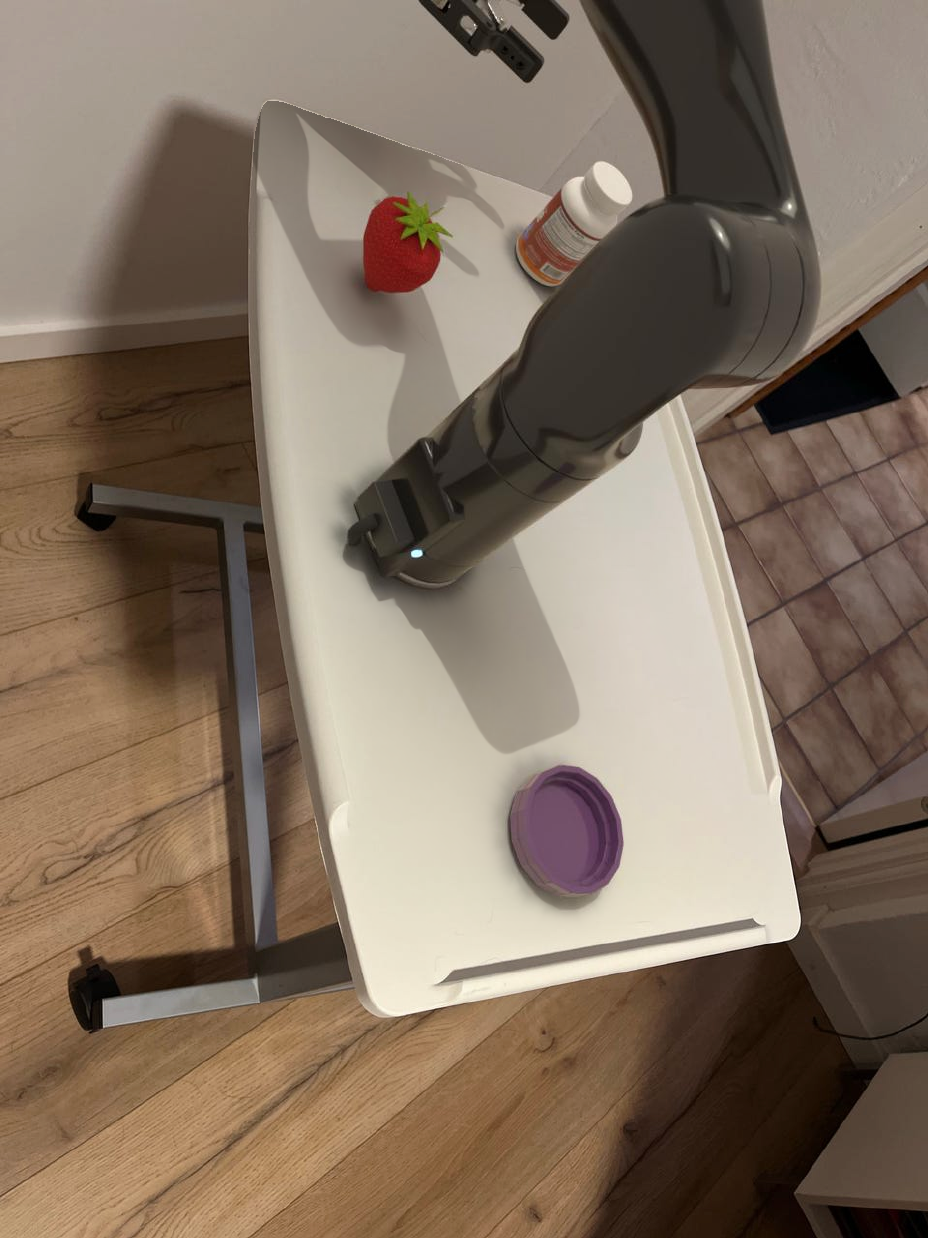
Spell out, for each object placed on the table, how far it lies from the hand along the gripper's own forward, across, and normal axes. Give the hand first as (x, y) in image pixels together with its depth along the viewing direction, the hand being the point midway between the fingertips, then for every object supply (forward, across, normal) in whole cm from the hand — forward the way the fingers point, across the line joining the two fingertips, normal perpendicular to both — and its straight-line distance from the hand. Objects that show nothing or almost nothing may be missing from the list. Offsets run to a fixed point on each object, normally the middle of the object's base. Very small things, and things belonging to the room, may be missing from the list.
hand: (550, 50), depth 74 cm
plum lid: (+30, -53, +15) cm, 63 cm away
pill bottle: (+11, 0, +16) cm, 19 cm away
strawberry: (-1, -19, +15) cm, 24 cm away
